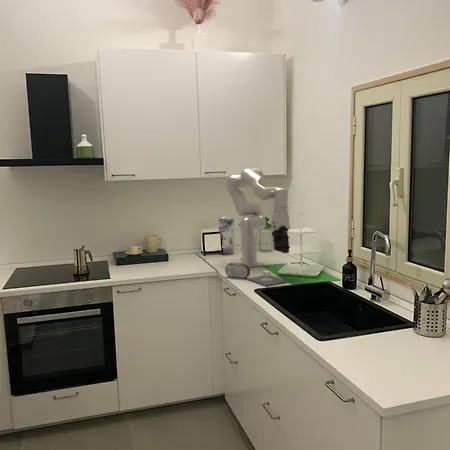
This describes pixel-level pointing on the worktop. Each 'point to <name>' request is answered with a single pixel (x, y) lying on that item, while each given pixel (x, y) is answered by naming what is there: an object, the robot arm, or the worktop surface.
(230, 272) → the tin
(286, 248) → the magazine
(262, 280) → the mat
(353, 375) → the worktop surface
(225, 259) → the worktop surface
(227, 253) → the juice carton
